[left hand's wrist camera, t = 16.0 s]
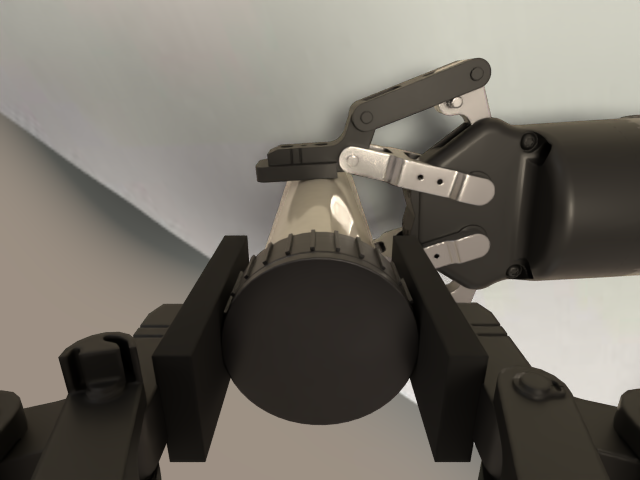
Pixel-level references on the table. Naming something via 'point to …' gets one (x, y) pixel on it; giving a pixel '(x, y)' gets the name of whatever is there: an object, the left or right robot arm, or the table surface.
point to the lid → (320, 329)
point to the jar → (321, 209)
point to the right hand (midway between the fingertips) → (265, 219)
